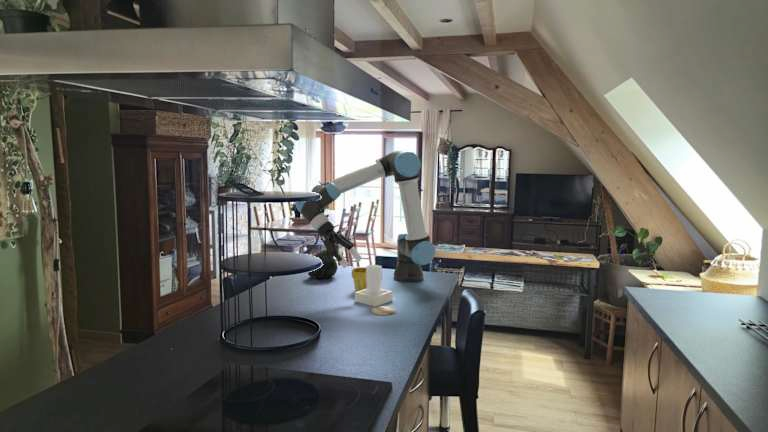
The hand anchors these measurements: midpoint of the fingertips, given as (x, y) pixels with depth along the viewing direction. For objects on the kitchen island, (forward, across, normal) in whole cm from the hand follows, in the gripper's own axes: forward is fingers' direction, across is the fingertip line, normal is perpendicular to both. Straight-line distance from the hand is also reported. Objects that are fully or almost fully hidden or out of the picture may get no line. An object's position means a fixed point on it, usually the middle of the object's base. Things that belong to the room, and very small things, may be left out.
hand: (353, 263), depth 216 cm
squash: (-10, -29, -33) cm, 45 cm away
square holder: (+18, 0, -4) cm, 18 cm away
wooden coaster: (+24, +11, +2) cm, 27 cm away
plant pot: (+10, -14, -12) cm, 21 cm away
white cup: (+18, 0, -5) cm, 18 cm away
